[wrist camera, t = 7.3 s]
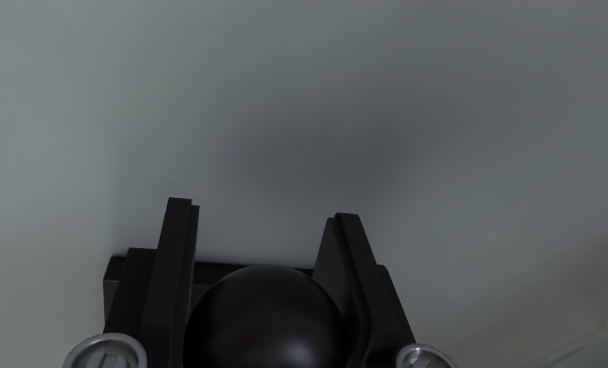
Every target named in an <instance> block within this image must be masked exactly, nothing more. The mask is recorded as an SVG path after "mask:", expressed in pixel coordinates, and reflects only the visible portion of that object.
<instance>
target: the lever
mask: <svg viewBox="0 0 608 368" xmlns="http://www.w3.org/2000/svg"><path fill="white" fill-rule="evenodd" d="M347 355H348V342H347V335H346V329H345V325H344V322H343V319H342V317H341V314H340V312H339V310H338V308H337V306H336V304H335V303H334V301H333V300H332V298H331V297H330V296H329V294H328V293H327V292H326V291H325V289H324V288H323V287H322V286H321V285H319V284H318V283H317V282H316V281H314V280H313V279H312V278H310V277H309V276H307V275H305V274H304V273H302V272H300V271H297V270H295V269H292V268H288V267H284V266H280V265H272V264H262V265H254V266H249V267H245V268H242V269H239V270H237V271H234V272H232V273H230V274H228V275H227V276H225V277H223V278H222V279H221V280H219V281H218V282H216V283H215V284H214V285H213V286H212V287H211V288H210V289H208V290H207V292H206V293H205V294H204V295H203V296H202V297H201V299H200V300H199V302H198V303H197V305H196V306H195V308H194V310H193V312H192V314H191V316H190V318H189V320H188V323H187V326H186V330H185V338H184V347H183V357H182V363H183V368H346V365H347Z"/></svg>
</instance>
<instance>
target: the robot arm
mask: <svg viewBox="0 0 608 368" xmlns="http://www.w3.org/2000/svg"><path fill="white" fill-rule="evenodd" d="M191 202H192V199H183V198H172V197H169V199H168V204H167V208H166V212H165V217H164V221H163V226H162V230H161V235H160V239H159V243H158V248H157V249H144V248H129V250H128V253H127V256H126V259H125V262H124V265H123V269H122V272H121V275H120V278H119V282H118V285H117V288H116V291H115V295H114V298H113V301H112V305H111V308H110V311H109V314H108V318H107V321H106V324H105V327H104V331H103V334H99V335H96V336H93V337H91V338H88V339H86V340H84V341H83V342H81V343H80V344H78V345H77V346H75V347H74V348H73V349H72V351H71V352H70V353H69V354H68V355H67V357H66V359H65V361H64V364H63V366H62V368H183V363H182V357H183V347H184V338H185V330H186V326H187V323H188V319H189V311H190V302H191V293H192V283H193V272H194V262H195V251H196V240H197V230H198V219H199V208H200V206H196V205H191ZM312 279H313V280H314V281H316V282H317V283H318V284H319V285H321V286H322V287H323V288H324V289H325V291H326V292H327V293H328V294H329V296H330V297H331V298H332V300H333V301H334V303H335V304H336V306H337V308H338V310H339V312H340V314H341V317H342V319H343V322H344V325H345V329H346V335H347V342H348V355H347V365H346V368H458V366H457V365H456V364H455V362H454V361H453V360H452V359H451V358H450V357H449V356H448V355H446V354H445V353H444V352H442V351H441V350H439V349H437V348H435V347H433V346H430V345H426V344H417V343H416V341H415V338H414V336H413V333H412V331H411V328H410V326H409V323H408V321H407V318H406V316H405V313H404V310H403V308H402V305H401V303H400V300H399V298H398V295H397V293H396V290H395V288H394V285H393V283H392V280H391V278H390V275H389V273H388V270H387V269H386V267H385V266H383V265H377V263H376V261H375V258H374V255H373V253H372V250H371V247H370V245H369V242H368V239H367V237H366V234H365V231H364V228H363V226H362V223H361V220H360V218H359V216H358V215H357V214H348V213H336V214H335V216H334V218H332V217H329V218H328V219H327V222H326V226H325V229H324V233H323V237H322V241H321V245H320V248H319V252H318V256H317V260H316V264H315V268H314V271H313V275H312Z"/></svg>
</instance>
